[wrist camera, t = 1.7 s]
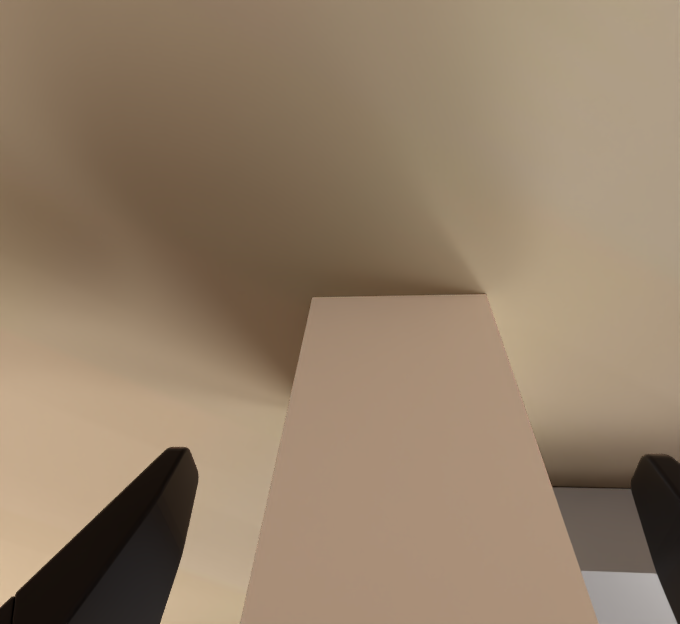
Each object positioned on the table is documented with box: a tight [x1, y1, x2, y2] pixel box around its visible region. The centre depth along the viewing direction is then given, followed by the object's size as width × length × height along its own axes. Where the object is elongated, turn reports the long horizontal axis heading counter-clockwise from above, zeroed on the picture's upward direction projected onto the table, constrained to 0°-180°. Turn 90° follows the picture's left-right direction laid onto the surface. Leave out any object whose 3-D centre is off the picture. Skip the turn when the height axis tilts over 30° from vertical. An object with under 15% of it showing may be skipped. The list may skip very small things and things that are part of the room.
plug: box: [240, 294, 599, 624], centre depth 8 cm, size 4×4×9 cm
